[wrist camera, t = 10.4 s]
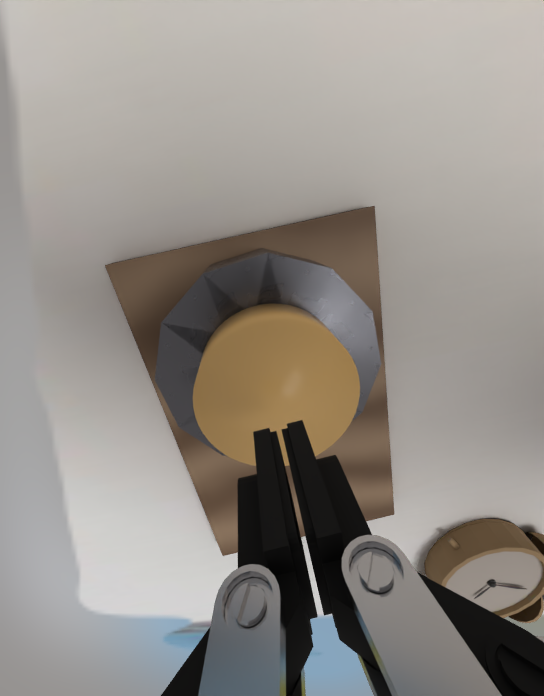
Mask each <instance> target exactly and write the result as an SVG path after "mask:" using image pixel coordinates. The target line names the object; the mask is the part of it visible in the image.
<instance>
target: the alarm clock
mask: <svg viewBox="0 0 544 696" xmlns="http://www.w3.org/2000/svg"><path fill="white" fill-rule="evenodd" d="M527 533H531V534H532V539H531V540H529V538H528V537H527V536H526V534H525V533H524V532H523V531H522V530H521V529H520V528H518V527H517V526H516V525H514V524H513V523H510V522H507V521H503V520H500V519H479V520H474V521H470V522H467V523H464V524H462V525H460V526H458V527H456V528H454V529H452V530H450V531H449V532H448V533H447V534H445V535H444V536H443V537H441V538H440V539H439V540H438V541H437V542H436V543H435V544H434V546H433V547H432V548H431V549H430V551H429V552H428V555H427V557H426V560H425V563H424V564H425V573H426V575H427V577H428V578H429V579H431V580H433V581H435V582H436V583H438V584H440V585H442V586H444V587H446V588H448V589H450V590H451V591H453V592H455V593H457V594H459V595H461V596H463V597H465V598H466V599H468V600H470V601H472V602H474V603H476V604H478V605H480V606H481V607H483V608H485V609H487V610H489V611H491V612H493V613H495V614H496V615H498V616H500V617H502V618H505V617H507V616H509V617H510V618H512V619H514V620H517V621H519V622H525V623H531V622H534V621H537V620H538V619H539V618H540V617H541V615H542V613H543V610H544V535H543V534H539V533H535V532H527Z"/></svg>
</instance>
